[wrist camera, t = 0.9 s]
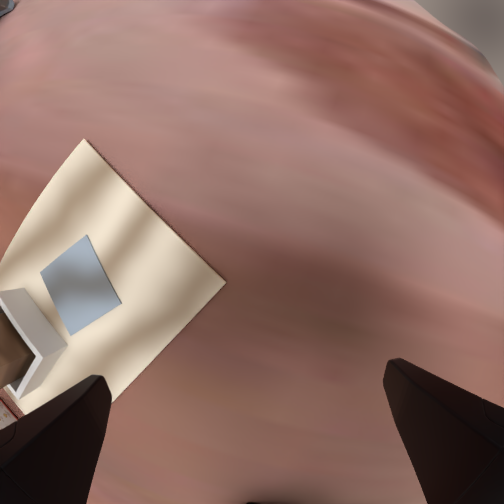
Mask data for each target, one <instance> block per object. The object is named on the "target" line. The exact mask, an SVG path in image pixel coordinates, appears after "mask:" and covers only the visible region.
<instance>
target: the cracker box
mask: <svg viewBox="0 0 504 504" xmlns="http://www.w3.org/2000/svg"><path fill="white" fill-rule="evenodd" d="M17 420H18V419H17V418H16V417H15V415H14V414H13V413H12V412H11V411H10V410H9V409H8V407H7V406H6V405H5V404H4V403H3V401H2V400H1V399H0V430H1V429H3V428H5V427H6V426H8V425H10V424H11V423H13V422H15V421H17Z"/></svg>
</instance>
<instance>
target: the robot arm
mask: <svg viewBox="0 0 504 504" xmlns="http://www.w3.org/2000/svg"><path fill="white" fill-rule="evenodd" d="M383 386H384V389H385V392H386V396H387V399H388V402H389V405H390V408H391V412H392V415H393V418H394V421H395V424H396V427H397V429H398V431H399V434H400V436H401V438H402V441H403V443H404V445H405V448H406V450H407V453H408V455H409V457H410V460H411V462H412V465H413V467H414V470H415V472H416V475H417V477H418V480H419V482H420V485H421V488H422V490H423V493H424V495H425V498H426V501H427V503H428V504H504V408H503V407H501V406H498V405H496V404H494V403H492V402H489V401H487V400H485V399H482V398H481V397H479V396H477V395H475V394H473V393H471V392H468V391H466V390H464V389H462V388H460V387H458V386H456V385H454V384H452V383H450V382H448V381H446V380H444V379H442V378H440V377H438V376H436V375H434V374H432V373H430V372H428V371H426V370H424V369H422V368H420V367H418V366H416V365H414V364H412V363H410V362H408V361H406V360H404V359H402V358H395V359H391V360H389V361H388V362H387V365H386V370H385V374H384V378H383ZM111 403H112V394H111V391H110V389H109V387H108V384H107V382H106V379H105V378H104V376H102V375H95V374H92V375H90V376H88V377H87V378H85V379H83V380H82V381H80V382H79V383H77V384H75V385H74V386H72V387H71V388H69V389H67V390H66V391H64V392H63V393H61V394H59V395H58V396H56V397H54V398H53V399H51V400H49V401H48V402H46V403H45V404H43V405H41V406H40V407H38V408H36V409H35V410H33V411H31V412H30V413H28V414H26V415H25V416H23V417H22V418H20V419H18V420H17V421H15V422H13V423H11V424H10V425H8V426H6V427H5V428H3V429H1V430H0V504H86V502H87V498H88V494H89V490H90V487H91V483H92V479H93V475H94V472H95V468H96V465H97V461H98V458H99V454H100V451H101V448H102V444H103V441H104V437H105V433H106V428H107V422H108V417H109V412H110V408H111ZM247 504H254V503H247Z"/></svg>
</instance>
